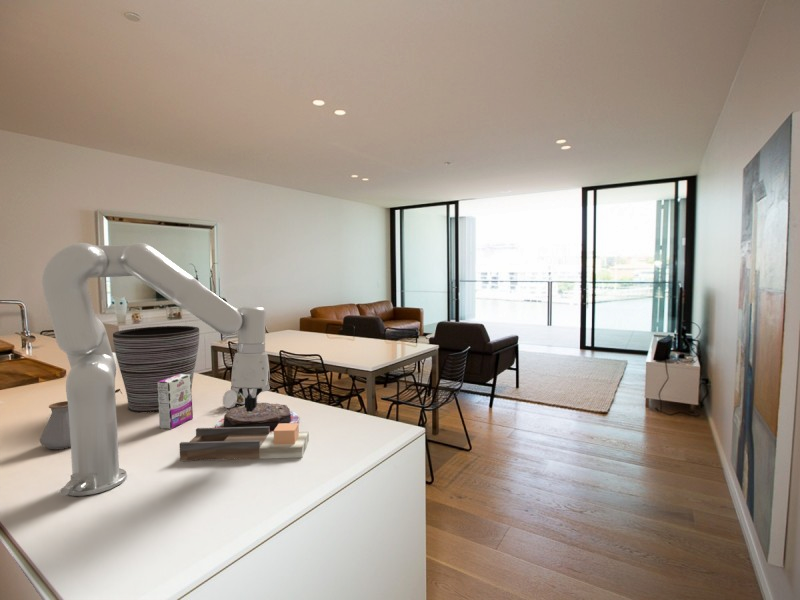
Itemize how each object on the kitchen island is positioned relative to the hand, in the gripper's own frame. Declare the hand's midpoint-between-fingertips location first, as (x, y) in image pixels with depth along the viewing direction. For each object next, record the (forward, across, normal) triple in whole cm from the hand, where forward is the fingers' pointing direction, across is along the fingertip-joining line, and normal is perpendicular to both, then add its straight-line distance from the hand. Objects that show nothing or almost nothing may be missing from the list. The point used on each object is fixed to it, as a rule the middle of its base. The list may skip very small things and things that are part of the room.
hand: (250, 410), depth 125 cm
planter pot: (+13, -50, +50) cm, 72 cm away
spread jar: (+12, -17, +46) cm, 50 cm away
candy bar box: (+13, -33, +26) cm, 44 cm away
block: (+9, +11, 0) cm, 14 cm away
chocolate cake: (+13, -4, +24) cm, 27 cm away
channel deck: (+12, -1, +1) cm, 12 cm away
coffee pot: (+14, -55, +12) cm, 58 cm away
